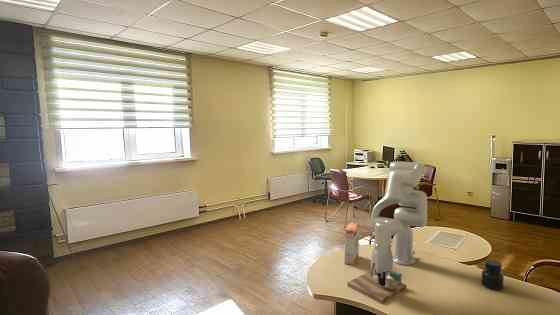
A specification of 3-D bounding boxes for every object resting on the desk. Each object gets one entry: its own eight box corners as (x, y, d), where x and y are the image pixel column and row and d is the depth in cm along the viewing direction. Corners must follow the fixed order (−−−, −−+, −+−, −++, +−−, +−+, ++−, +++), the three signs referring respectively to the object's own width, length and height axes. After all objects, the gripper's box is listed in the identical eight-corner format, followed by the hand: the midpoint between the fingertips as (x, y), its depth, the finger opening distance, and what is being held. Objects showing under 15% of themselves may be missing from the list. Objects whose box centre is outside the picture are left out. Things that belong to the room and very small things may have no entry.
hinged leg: (369, 275, 161) (369, 268, 161) (374, 274, 163) (374, 266, 162) (391, 289, 147) (391, 281, 147) (396, 288, 148) (396, 280, 148)
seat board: (372, 273, 168) (372, 261, 167) (406, 288, 152) (406, 275, 151) (347, 286, 156) (347, 272, 155) (382, 303, 140) (382, 289, 139)
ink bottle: (500, 283, 155) (501, 260, 154) (507, 292, 147) (508, 268, 145) (478, 280, 158) (479, 257, 157) (483, 289, 150) (484, 265, 149)
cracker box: (354, 265, 178) (354, 230, 175) (344, 264, 180) (344, 229, 178) (359, 256, 190) (359, 222, 188) (349, 254, 193) (349, 221, 190)
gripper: (388, 242, 155) (388, 278, 156) (364, 247, 149) (364, 284, 150) (400, 248, 148) (399, 285, 150) (375, 253, 142) (375, 291, 143)
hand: (381, 284), depth 150 cm, fingers closed
